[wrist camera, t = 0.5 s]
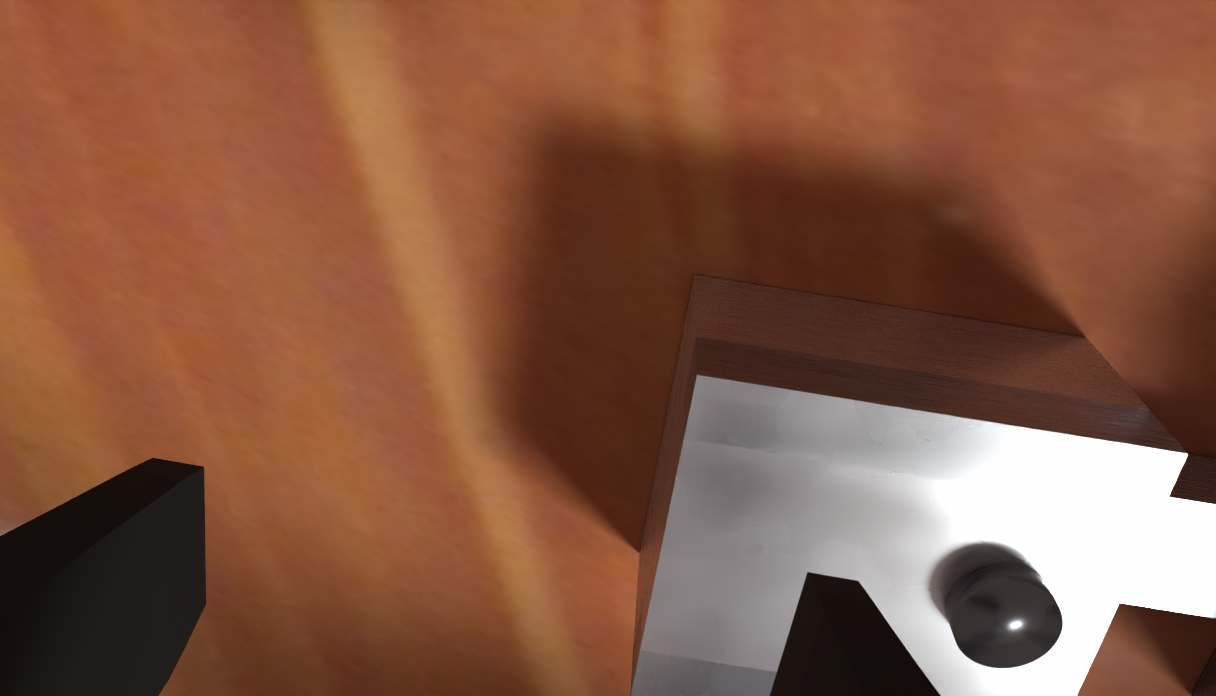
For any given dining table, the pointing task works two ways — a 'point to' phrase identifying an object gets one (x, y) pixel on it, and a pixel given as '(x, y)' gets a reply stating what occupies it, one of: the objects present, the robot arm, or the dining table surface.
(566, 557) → the dining table surface
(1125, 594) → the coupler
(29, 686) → the robot arm
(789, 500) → the block
